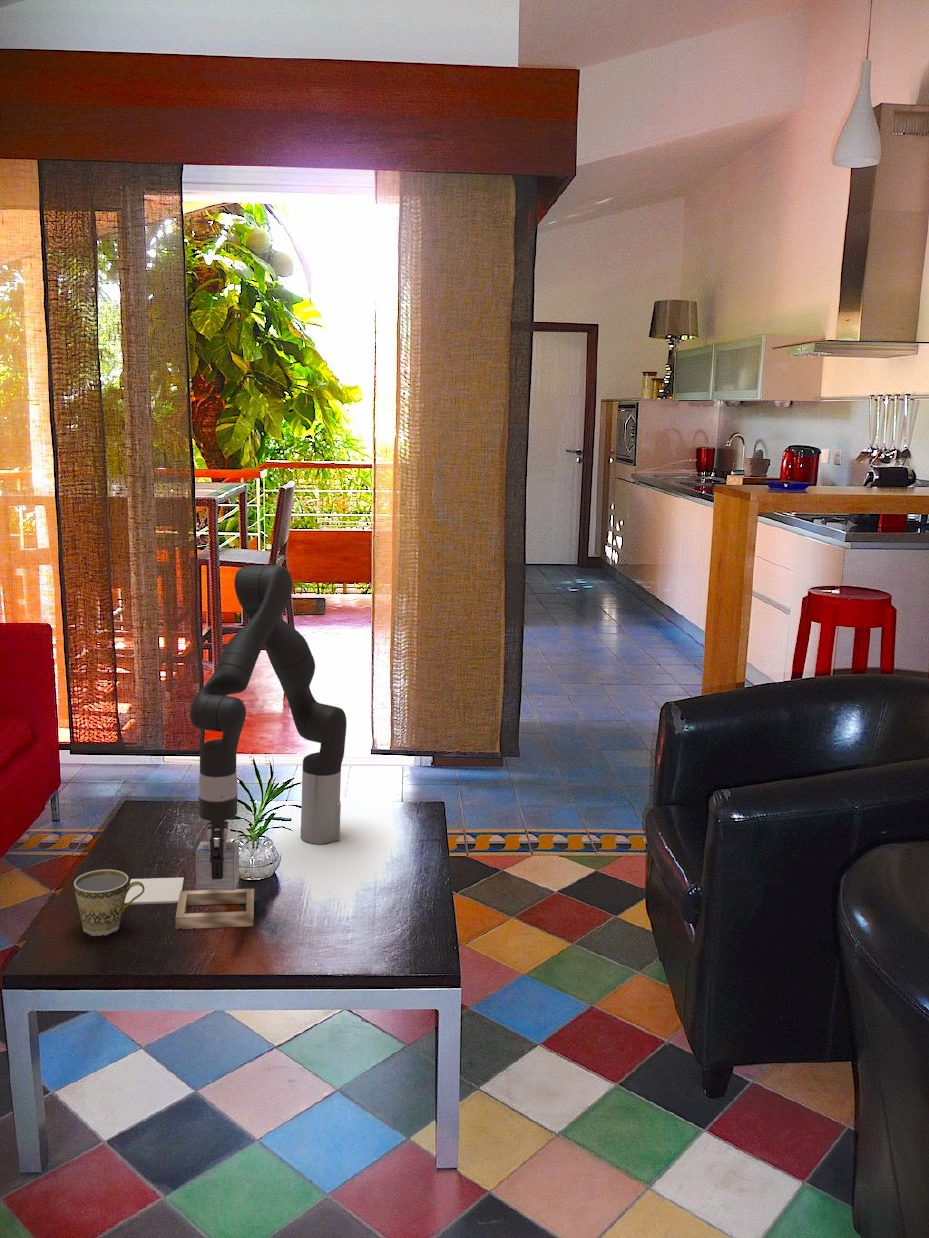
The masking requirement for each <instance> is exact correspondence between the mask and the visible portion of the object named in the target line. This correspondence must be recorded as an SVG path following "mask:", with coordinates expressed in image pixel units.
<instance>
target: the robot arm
mask: <svg viewBox="0 0 929 1238" xmlns="http://www.w3.org/2000/svg"><path fill="white" fill-rule="evenodd" d="M233 585H234V591H235V594H236V595H235V596H236V597H237V600H238V603H239V605H240V606H241V608H242V609H243V611H244V613H245V614H246V616H247V618H248V619H249V621H248V622H247V623H246V624H245V625H244V626H243V627H242V628H240V630H238V631H237V632H236V633H235V634H234V635H233V636H232V637H231V639H229V640H228V642H227V644H225V647H224V648H223V651H222V652H221V654H220V658H219V660H218V663H217V665H216V667H215V670H214V672H213V674H212V676H210V678H209V679H208V680H207V681H206V683H205V684H204V685H203V687H202V688H201V689H200V690H199V692H198V693H197V695H196V696H195V697H194V699H193V701H192V703H191V706H190V710H189V719H190V722H191V723H192V726H193V727H195V728H197V729H198V730H203V731H210V732H211V731H212V732H220V733H221V732H222V738H219V739H212V740H207V741H206V742H203V743H202V744H201V746H200V750H199V778H198V817H199V818H201V819H202V820H205V821H208V822H207V829H206V830H207V833H206V834H207V836H208V842H209V846H208V848H209V850H210V863H212V879H213V880H216V879H222V878H223V861H224V850H225V849H226V842H227V840H228V833H229V820H232V819H234V818H235V817H236V816H237V814H238V777H237V776H238V775H237V752H238V745H239V742H240V739H241V738H240V737H241V733H242V730H243V728H244V724H245V721H246V715H247V710H246V706H245V703H244V702H243V701H242V700H241V698H239V697H237V696H229V695H235V694H239V693H243V692H244V691H246V689H247V688H248V685H249V682H250V681H251V677H252V674H253V672H254V669H255V667H256V663H257V662H258V659H259V656H260V653H261V651H262V650H263V648H264V650H265V652H266V654H267V657H268V659H269V662H270V664H271V666H272V669H273V670H274V671H273V672H274V673H275V675H276V677H277V679H278V681H279V684H280V685H281V688H282V690H283V692H284V695H285V698H286V700H287V702H288V706H289V709H290V712H291V715H292V719H293V722H294V725H295V728H296V731H297V733H298V734H299V736H300V737H301V738H303V739H304V740H307V741H310V742H315V743H318V744H320V748H319V752H312V753H310V754H308V755H306V756H304V757H303V759H302V773H301V777H302V778H301V805H300V806H301V811H300V814H301V815H300V839H301V840H302V841H304V842H306V843H309V844H316V845H317V844H318V845H320V844H321V845H323V844H329V843H330V844H331V843H334V842H339V841H340V836H341V835H340V833H341V813H342V812H341V808H342V805H341V804H342V803H341V784H342V783H341V780H342V764H343V760H344V756H345V749H346V748H345V747H346V739H347V738H346V734H347V725H348V724H347V715H346V713H345V711H344V709H342V708H341V707H338V706H334V705H330V704H326V703H321V702H318V701H317V700H316V699H315V697H314V694H313V693H312V691H311V687H310V686H311V683H312V680H313V678H314V675H315V670H316V661H315V659H314V656H313V654H312V651H311V649H310V646H309V644H308V642H307V640H306V638H305V637H304V636H303V635H302V634H301V633H300V632H299V631H298V630H296V628H294V626H292V625H291V624H289V623H288V622H287V621H285V620H284V619H283V618H282V617H281V616H282V614H283V613H284V611H285V609H286V607H287V605H288V603H289V602H290V600H291V596H292V592H293V579H292V576H291V573H290V571H289V570H288V568H287V567H285V566H283V565H278V564H277V565H274V564H273V565H270V564H267V565H264V564H263V565H262V564H261V565H259V564H258V565H246V566H243V567H241V568H239V569H238V570H237V572H236V573H235V576H234V584H233ZM223 842H224V844H223ZM214 854H220V855H221V856H214Z"/></svg>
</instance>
